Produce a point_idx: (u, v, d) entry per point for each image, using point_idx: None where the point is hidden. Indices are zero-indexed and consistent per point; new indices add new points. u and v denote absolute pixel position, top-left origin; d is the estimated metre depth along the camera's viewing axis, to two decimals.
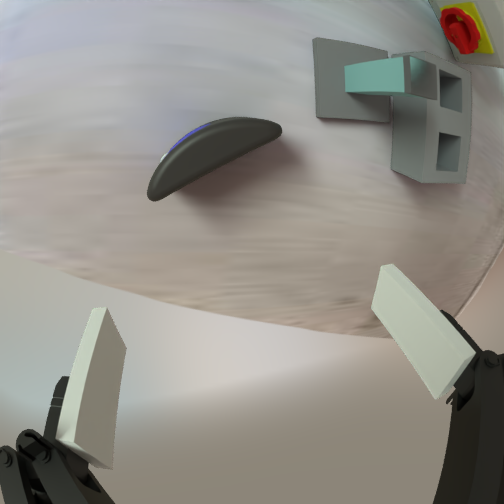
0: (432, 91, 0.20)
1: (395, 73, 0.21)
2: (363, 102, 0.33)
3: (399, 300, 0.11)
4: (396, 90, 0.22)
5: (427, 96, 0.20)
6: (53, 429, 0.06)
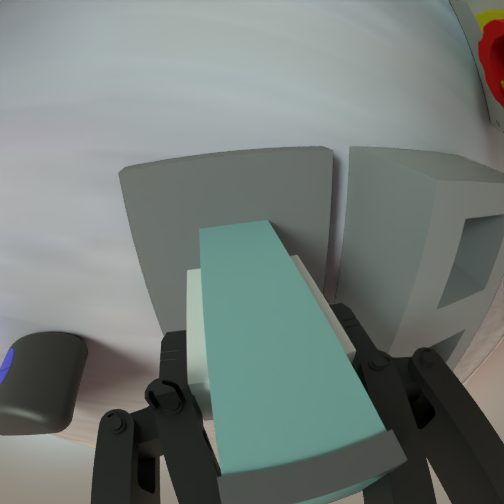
0: (343, 496, 0.06)
1: None
2: None
3: None
4: None
5: None
6: None
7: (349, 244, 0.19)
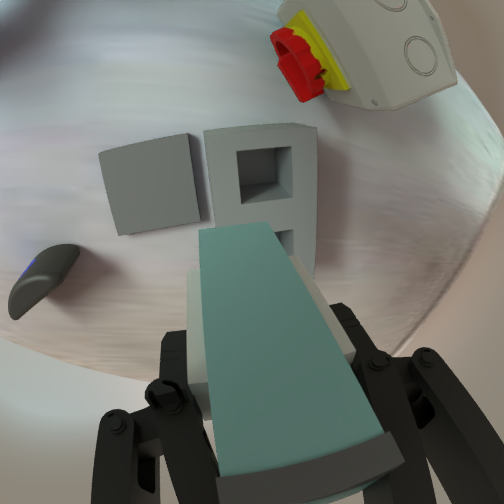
0: (342, 497, 0.06)
1: None
2: (161, 209, 0.35)
3: None
4: None
5: None
6: None
7: None
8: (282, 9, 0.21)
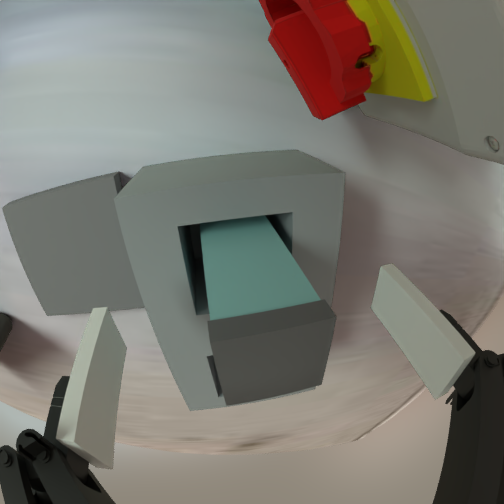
0: (305, 379, 0.10)
1: None
2: (91, 288, 0.21)
3: (399, 300, 0.11)
4: None
5: (285, 392, 0.11)
6: (53, 429, 0.06)
7: None
8: None
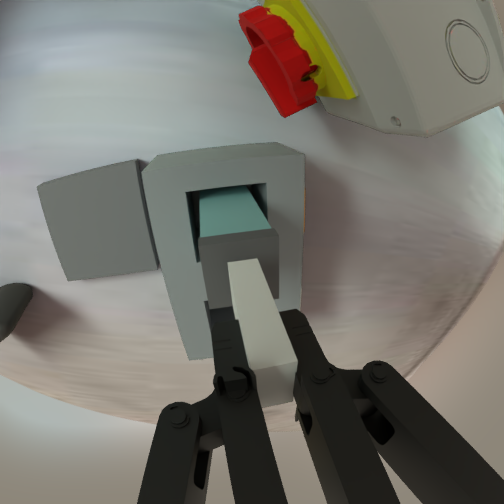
0: None
1: None
2: (110, 254, 0.27)
3: None
4: None
5: None
6: None
7: None
8: None
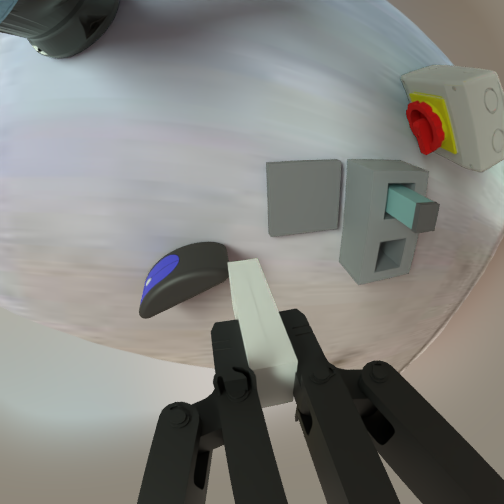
0: (431, 225, 0.34)
1: (407, 211, 0.35)
2: (311, 217, 0.45)
3: None
4: (406, 224, 0.36)
5: (427, 230, 0.34)
6: None
7: (347, 198, 0.45)
8: (417, 83, 0.31)
